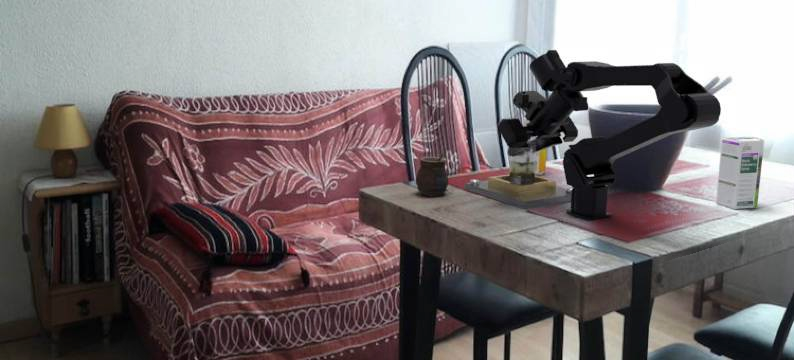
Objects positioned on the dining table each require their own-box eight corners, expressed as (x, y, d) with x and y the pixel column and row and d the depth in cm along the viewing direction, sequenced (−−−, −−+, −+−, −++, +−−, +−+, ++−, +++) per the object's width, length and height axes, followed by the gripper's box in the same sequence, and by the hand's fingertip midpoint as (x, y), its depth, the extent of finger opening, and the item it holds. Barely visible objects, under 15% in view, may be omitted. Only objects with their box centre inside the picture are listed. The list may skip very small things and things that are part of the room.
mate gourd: (430, 188, 159) (432, 145, 156) (455, 194, 153) (457, 150, 151) (408, 193, 154) (410, 149, 151) (433, 200, 148) (435, 154, 146)
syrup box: (734, 210, 142) (742, 140, 139) (714, 203, 147) (721, 135, 144) (757, 208, 143) (766, 139, 140) (736, 201, 149) (744, 135, 146)
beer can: (543, 171, 179) (547, 113, 176) (546, 176, 173) (549, 116, 170) (520, 170, 179) (522, 113, 176) (521, 175, 173) (524, 116, 170)
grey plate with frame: (580, 199, 149) (581, 183, 149) (523, 208, 141) (524, 192, 140) (518, 182, 166) (519, 167, 165) (465, 189, 158) (465, 174, 157)
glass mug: (540, 184, 152) (542, 139, 150) (520, 187, 149) (522, 141, 147) (514, 177, 159) (516, 134, 157) (495, 180, 156) (496, 136, 154)
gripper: (571, 77, 150) (534, 122, 161) (504, 80, 140) (470, 127, 152) (596, 117, 145) (556, 160, 156) (529, 122, 135) (491, 168, 147)
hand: (519, 153), depth 153 cm, fingers closed on glass mug, 5 cm apart
